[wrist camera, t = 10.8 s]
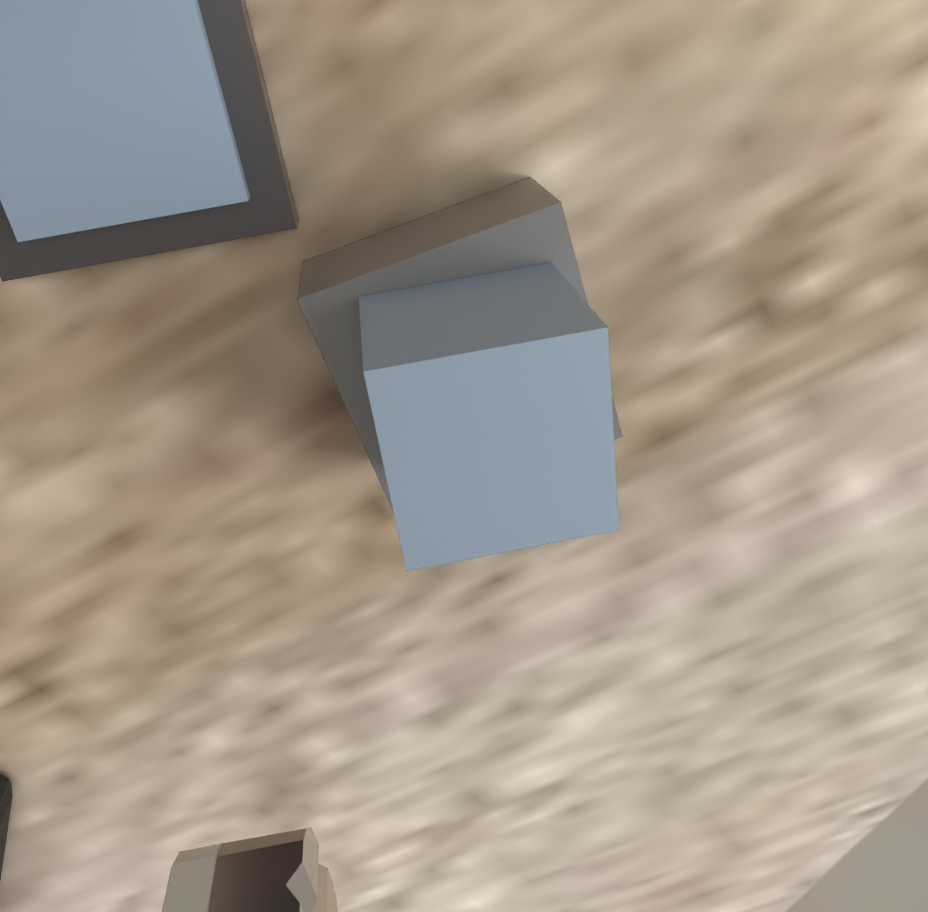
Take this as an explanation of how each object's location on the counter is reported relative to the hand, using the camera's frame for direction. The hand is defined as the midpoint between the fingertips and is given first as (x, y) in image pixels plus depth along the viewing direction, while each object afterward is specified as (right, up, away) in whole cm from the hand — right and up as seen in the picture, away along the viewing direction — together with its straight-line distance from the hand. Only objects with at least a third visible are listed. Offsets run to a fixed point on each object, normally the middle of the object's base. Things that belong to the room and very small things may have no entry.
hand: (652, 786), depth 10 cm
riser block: (-3, +8, +16) cm, 18 cm away
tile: (-11, +13, +11) cm, 21 cm away
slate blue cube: (-2, +6, +12) cm, 14 cm away
